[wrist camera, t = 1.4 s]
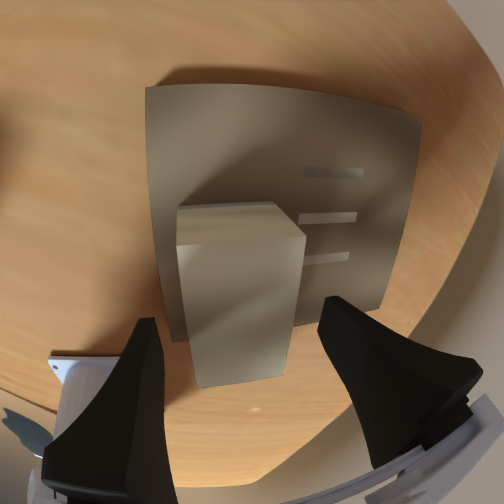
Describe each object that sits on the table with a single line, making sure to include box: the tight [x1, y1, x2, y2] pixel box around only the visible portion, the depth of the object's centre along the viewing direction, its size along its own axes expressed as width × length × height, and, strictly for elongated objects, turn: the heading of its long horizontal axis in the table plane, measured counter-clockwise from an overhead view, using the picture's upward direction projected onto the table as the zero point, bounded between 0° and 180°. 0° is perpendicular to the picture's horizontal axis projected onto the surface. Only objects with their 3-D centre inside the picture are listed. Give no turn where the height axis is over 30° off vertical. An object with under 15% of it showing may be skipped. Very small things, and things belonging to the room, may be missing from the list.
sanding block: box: [176, 201, 306, 388], centre depth 13 cm, size 8×4×4 cm, turn 178°
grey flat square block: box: [145, 84, 422, 342], centre depth 15 cm, size 14×15×2 cm
